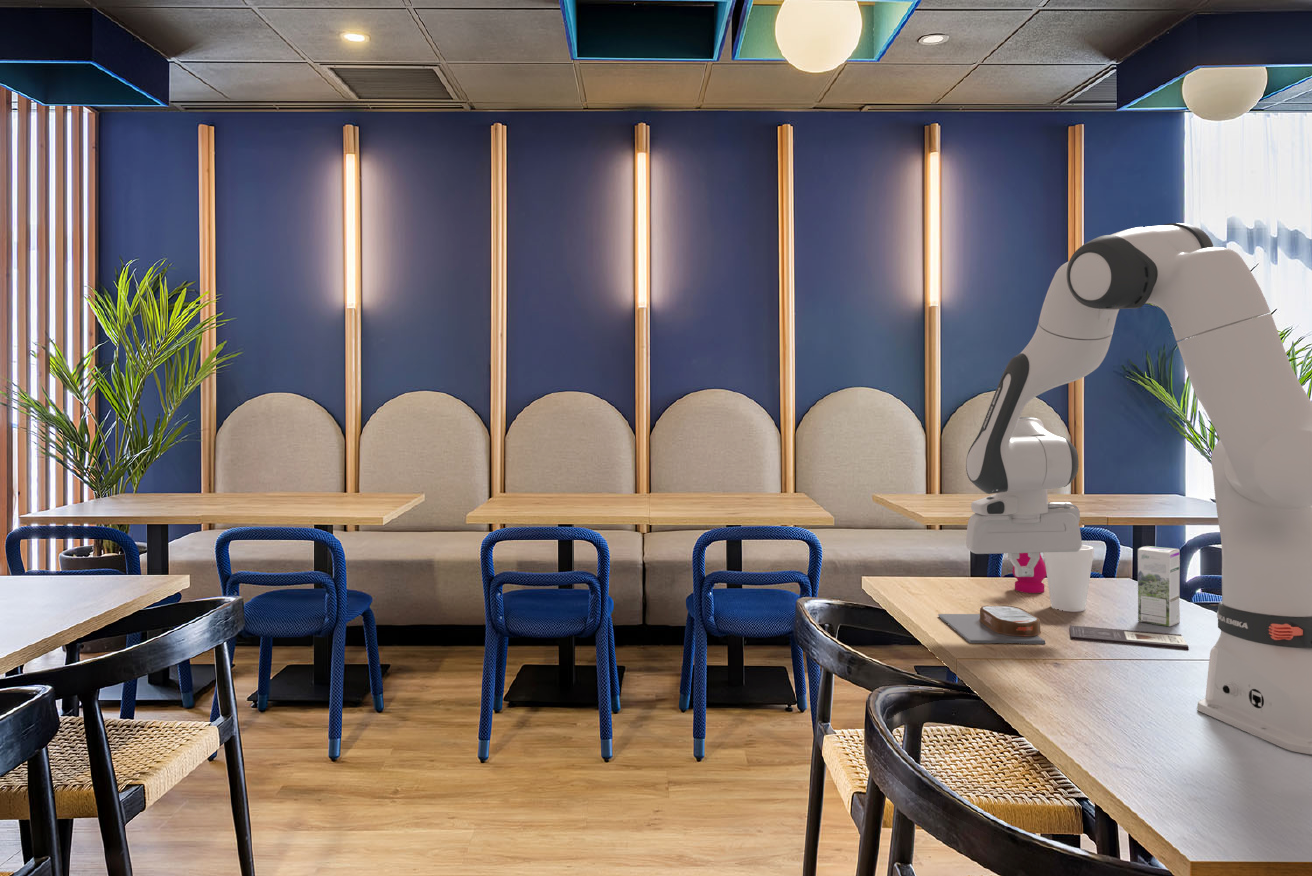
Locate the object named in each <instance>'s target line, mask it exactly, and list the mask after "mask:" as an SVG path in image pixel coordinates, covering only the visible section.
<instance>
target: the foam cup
mask: <svg viewBox="0 0 1312 876" xmlns="http://www.w3.org/2000/svg"><path fill="white" fill-rule="evenodd" d="M1094 551H1095V549H1094V547H1093V546H1090V545H1086V544H1082V547H1081V548H1080V549H1079V551H1078V552H1045V553H1042V557H1044V559H1043V560H1044V563H1045V566H1046V573H1047V575H1046V579H1047V586H1048V593H1049V600H1050V601H1049V602H1050V604H1051V608H1052V609H1054V608H1055V609H1054V610H1057V609H1059V610H1058V611H1062V610H1063V612H1077V613H1078V612H1084V611H1085V610H1086V606H1087V599H1088V595H1089V587H1090V582H1091V581H1090V580H1091V579H1090V577H1091V575H1092V574H1091V572H1092V567H1093V560H1094V559H1095V557H1094V556H1095V555H1094V554H1095V552H1094Z"/></svg>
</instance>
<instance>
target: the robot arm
mask: <svg viewBox="0 0 1312 876" xmlns="http://www.w3.org/2000/svg"><path fill="white" fill-rule="evenodd" d="M1145 304H1151V305H1155V306H1157V307H1158V308H1160V309H1161V310H1162V311H1163V312H1164V313H1165V314H1166V317H1167V318H1168V321H1169V323H1170V327H1171V328H1172V332H1173V335H1174V339H1175V341H1176V344H1177V346H1178V349H1179V353H1180V355H1181V358H1182V361H1183V363H1184V366H1185V369H1186V370H1185V371H1186V372H1187V375H1188V378H1189V380H1190V384H1191V386H1192V389H1193V391H1194V394H1195V397H1196V398H1197V400H1198V401H1199V402H1200V404H1201V405H1202V407H1203V410H1205V411H1204V412H1206V415H1207V416H1208V418H1209V421H1210V422H1211V424H1212V426H1213V428H1214V430H1215V433H1216V434H1217V436H1218V439H1219V440H1218V441H1217V443H1216V444H1215V445H1214V448H1213V450H1212V453H1211V456H1210V457H1211V459H1210V460H1211V461H1210V462H1211V469H1212V475H1213V487H1214V496H1215V497H1214V498H1215V499H1214V500H1215V507H1216V515H1217V522H1218V528H1219V534H1220V542H1221V594H1222V595H1221V601H1219V603H1218V604H1217V605H1218V609H1217V612H1216V618H1217V628H1218V629H1219V630H1220V634H1219V637H1218V639H1217V641H1216V643H1215V644H1214V645H1213V647H1212V648H1211V650H1210V651H1209V661H1208V670H1207V676H1206V677H1207V679H1206V680H1207V681H1206V691H1205V698H1203V699H1199V701H1198V702H1197V708H1196V709H1197V711H1199V712H1200V713H1203V714H1205V715H1208V716H1210V717H1212V718H1214V719H1217V720H1219V721H1221V722H1224V723H1226V724H1227V725H1230V726H1232V727H1235V728H1236V729H1239V730H1242V731H1244V732H1247V733H1249V734H1251V735H1253V736H1255V737H1257V738H1260V739H1262V740H1264V741H1267V742H1268V743H1271V744H1273V745H1276V746H1278V747H1281V748H1283V749H1285V750H1287V751H1290V752H1295V753H1300V754H1306V755H1312V401H1311V399H1310V397H1309V395H1308V394H1307V392H1306V391H1305V389H1304V388H1303V386H1302V384H1301V383H1300V381H1299V379H1298V377H1297V375H1296V373H1295V371H1294V368H1293V367H1292V365H1291V363H1290V360H1289V358H1288V355H1287V352H1286V350H1285V347H1284V345H1283V342H1282V340H1281V337H1280V333H1279V332H1278V329H1277V326H1276V323H1275V320H1274V318H1273V314H1272V313H1271V310H1270V307H1269V305H1268V302H1267V300H1266V298H1265V296H1264V294H1263V291H1262V289H1261V287H1260V285H1259V284H1258V282H1257V279H1256V278H1255V276H1254V274H1253V273H1252V271H1251V270H1250V268H1249V266H1248V265H1247V264H1246V262H1245V261H1244V258H1242V256H1241V255H1240V254H1239V253H1238V252H1237V251H1234V250H1233V249H1231V248H1226V247H1220V246H1218V247H1216V246H1214V244H1213V241H1212V240H1211V238H1210V237H1209V236H1208V234H1207V233H1206V232H1205V231H1204V230H1203V229H1201V228H1199V227H1197V226H1195V225H1192V224H1187V223H1180V222H1178V223H1177V222H1176V223H1175V222H1173V223H1172V222H1170V223H1164V224H1161V225H1152V226H1145V227H1143V226H1137V227H1132V228H1128V229H1124V230H1121V231H1117V232H1114V233H1112V234H1106V235H1105V234H1104V235H1100V236H1097V237H1096V238H1093V239H1091V240H1089V241H1087V242H1086V243H1084V244H1083V245H1081V246H1079V248H1077V250H1075V251H1074V252H1073V254H1072V255H1071V257H1070V258H1069V261H1067V262H1065V263H1063V264H1062V265H1060V266H1059V268H1058V269H1056V272H1055V273H1054V276H1053V278H1052V280H1051V282H1050V285H1049V287H1048V289H1047V292H1046V295H1045V297H1044V301H1043V303H1042V306H1041V310H1040V315H1039V317H1038V318H1039V319H1038V324H1037V326H1036V330H1035V331H1034V334H1033V335H1032V338H1031V339H1030V341H1029V342H1028V344H1027V345H1026V346H1025V347H1024V349H1023V350H1021V352H1019V353H1018V354H1016V355H1015V356H1014V357H1012V358H1011V359H1010V360H1009V361H1008V363H1007V364H1006V367H1005V368H1004V371H1003V373H1002V376H1001V378H1000V379H999V382H998V385H997V388H996V389H995V392H994V394H993V398H992V400H991V402H990V405H989V408H988V409H987V412H986V414H985V417H984V420H983V423H982V425H981V428H980V430H979V433H978V434H977V435H976V438H975V439H974V441H973V443H972V444H971V446H969V447H970V448H969V449H968V451H967V455H966V460H965V469H966V474H967V476H966V477H968V479H969V481H970V482H971V484H973V485H974V486H975V487H976V488H978V489H979V490H981V491H982V492H983V493H985V494H987V495H988V496H986V497H983V498H979V499H976V500H974V501H972V502H971V504H970V509H971V511H972V512H973V514H971V516H970V517H969V518H968V521H967V527H966V548H967V549H968V551H970V552H971V553H972V554H976V555H986V554H987V555H990V554H991V555H992V554H993V555H994V554H996V555H997V554H1007V558H1008V560H1009V561H1010V562H1011V565H1013V566H1014V567H1015V576H1017V577H1033V576H1034V567H1035V566H1036V564H1037V562H1038V561H1039V559H1040V554H1043V553H1045V552H1078V551H1079V549H1080V548H1081V547H1082V545H1083V544H1082V543H1083V542H1082V534H1081V529H1080V525H1079V523H1080V521H1081V514H1080V508H1079V507H1078V506H1076V505H1075V504H1072V503H1071V502H1069V501H1065V502H1049V497H1048V490H1057V489H1060V488H1065V487H1067V486H1069V484H1071V483H1072V482H1073V480H1074V479H1075V478H1076V476H1077V474H1078V471H1079V454H1078V453H1079V452H1078V451H1077V450H1078V449H1077V448H1076V447H1075V446H1074V445H1073V443H1071V441H1070V440H1068V439H1067V438H1066V437H1064V436H1059V435H1057V434H1054V433H1053V432H1050V431H1049V430H1047V429H1046V428H1045V426H1044V422H1043V421H1042V420H1041V419H1040V418H1037V417H1034V416H1033V417H1032V416H1023V417H1022V416H1021V415H1022V414H1023V410H1024V409H1025V407H1026V406H1027V404H1028V403H1030V402H1031V401H1032V400H1033V399H1034V398H1036V397H1038V396H1039V395H1041V394H1044V393H1046V392H1047V391H1050V390H1052V389H1054V388H1058V387H1060V386H1063V385H1066V384H1069V383H1070V384H1071V383H1073V382H1075V381H1078V380H1081V379H1082V378H1085V377H1086V376H1088V375H1090V374H1091V373H1093V372H1094V371H1095V370H1097V369H1098V368H1099V367H1100V365H1101V364H1102V363H1103V362H1104V359H1105V358H1106V356H1107V353H1108V351H1109V348H1110V345H1111V341H1112V337H1113V333H1114V330H1115V329H1114V328H1115V325H1116V321H1117V317H1118V314H1119V311H1120V310H1124V309H1128V310H1130V309H1141V308H1142V307H1143V306H1144V305H1145ZM991 494H992V495H991ZM1019 553H1028V557H1030V558H1031V559H1030V560H1029V562H1028V564H1027V566H1020V564H1019V563H1018V561H1017V560H1016V559H1019ZM1013 566H1012V567H1013ZM1015 576H1014V577H1015Z"/></svg>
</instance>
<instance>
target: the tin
mask: <svg viewBox="0 0 1312 876" xmlns="http://www.w3.org/2000/svg"><path fill="white" fill-rule="evenodd" d="M979 614H980V619H979V620H980V622H982V623H983V624H984V625H986V626H987V627H989V628H990V629H991V630H993V631H994V632H997V633H1000V634H1004V635H1010V636H1021V637H1029V636H1039V635H1041V634H1042V631H1041V619H1040V618H1039V617H1037V616H1035V615H1034V614H1032V613H1030V612H1029V611H1027V610H1026V609H1023V608H1021V607H1019V606H1018V607H1017V606H1012V605H1007V604H1006V605H982V606H981V607H980V609H979Z"/></svg>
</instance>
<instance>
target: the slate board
mask: <svg viewBox="0 0 1312 876" xmlns="http://www.w3.org/2000/svg"><path fill="white" fill-rule="evenodd" d="M938 616H939V617H940V618H941V621H943V622H944V623H945V622H946V623H948V624H949V625H950V626H951V627H952V628H953V629H955V630H956V631H957V632H958V633H959V634H960V635H959V634H958V633H957V632H956V631H955V630H954V631H955V632H956V633H957V634H958V635H959V636H960V637H962V636H963V637H964V638H965V639H966V642H968V643H969V644H970V643H1019V644H1020V643H1021V644H1020V645H1026V644H1027V645H1029V644H1031V645H1046V639H1043V638H1042V637H1040V636H1039V635H1037V636H1029V637H1021V636H1010V635H1004V634H1000V633H997V632H994V631H993V630H991V629H990V628H989V627H987V626H986V625H984V624H983V623H982V622H980V620H979V619H980V613H938ZM938 616H937V617H938ZM939 617H938V618H939ZM940 618H939V619H940ZM946 623H945V624H946ZM948 624H947V625H948ZM949 625H948V626H949ZM950 626H949V627H950ZM951 627H950V628H951ZM952 628H951V629H952ZM953 629H952V630H953ZM963 637H962V638H963ZM964 638H963V639H964ZM965 639H964V640H965ZM1022 643H1023V644H1022ZM1025 643H1026V644H1025ZM1019 644H1018V645H1019Z"/></svg>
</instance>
